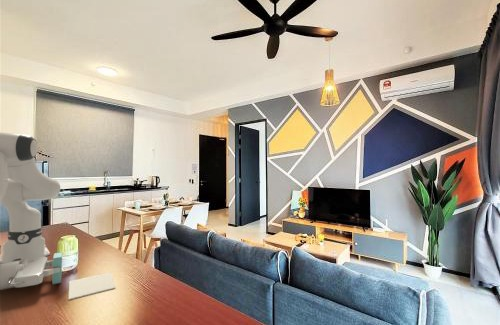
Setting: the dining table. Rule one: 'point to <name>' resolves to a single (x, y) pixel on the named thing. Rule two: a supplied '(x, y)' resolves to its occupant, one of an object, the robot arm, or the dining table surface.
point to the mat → (90, 285)
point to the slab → (57, 263)
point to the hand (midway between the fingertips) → (60, 265)
